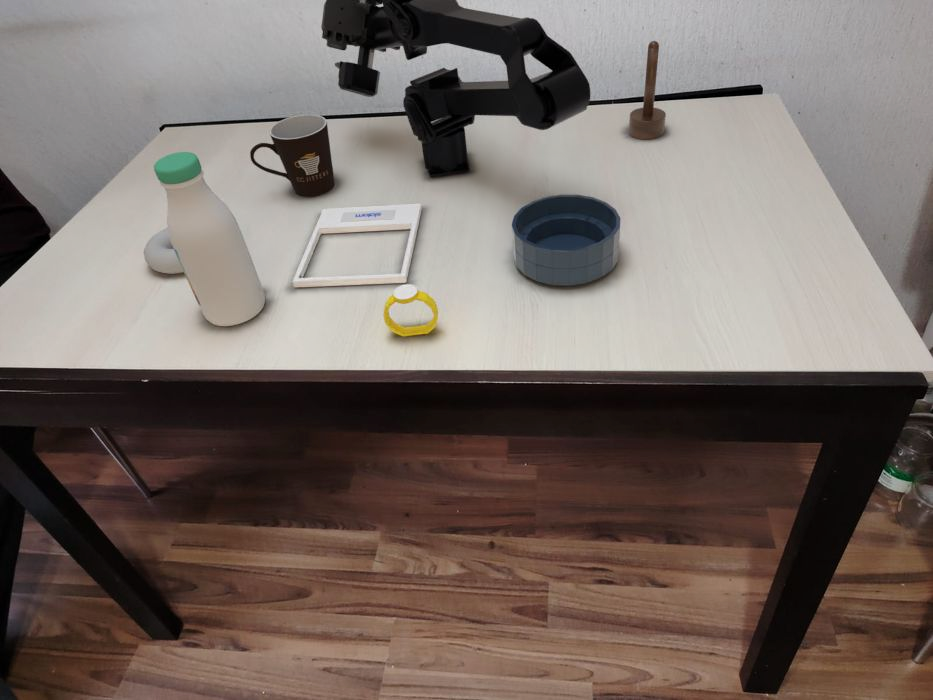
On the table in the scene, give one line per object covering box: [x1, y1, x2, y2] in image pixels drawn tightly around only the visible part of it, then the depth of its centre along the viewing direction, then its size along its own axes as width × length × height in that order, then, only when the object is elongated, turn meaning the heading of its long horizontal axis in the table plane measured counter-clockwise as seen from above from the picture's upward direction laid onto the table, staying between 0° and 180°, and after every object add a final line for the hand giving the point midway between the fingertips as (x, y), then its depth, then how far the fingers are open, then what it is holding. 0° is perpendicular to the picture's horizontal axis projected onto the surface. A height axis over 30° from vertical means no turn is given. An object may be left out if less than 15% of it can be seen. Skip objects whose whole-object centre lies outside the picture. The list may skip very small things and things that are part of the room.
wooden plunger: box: [628, 40, 667, 140], centre depth 105 cm, size 6×6×14 cm
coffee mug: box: [249, 114, 335, 198], centre depth 103 cm, size 12×9×10 cm
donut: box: [143, 227, 184, 275], centre depth 93 cm, size 10×3×10 cm
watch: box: [383, 283, 439, 338], centre depth 75 cm, size 6×3×6 cm, turn 90°
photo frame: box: [291, 203, 423, 288], centre depth 91 cm, size 15×1×18 cm
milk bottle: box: [153, 151, 266, 327], centre depth 77 cm, size 8×8×20 cm
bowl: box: [511, 194, 621, 287], centre depth 83 cm, size 13×13×6 cm
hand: (340, 36), depth 112 cm, fingers open, 9 cm apart
